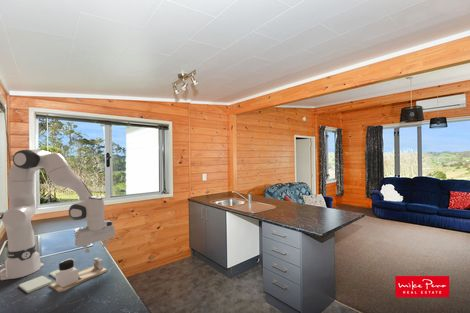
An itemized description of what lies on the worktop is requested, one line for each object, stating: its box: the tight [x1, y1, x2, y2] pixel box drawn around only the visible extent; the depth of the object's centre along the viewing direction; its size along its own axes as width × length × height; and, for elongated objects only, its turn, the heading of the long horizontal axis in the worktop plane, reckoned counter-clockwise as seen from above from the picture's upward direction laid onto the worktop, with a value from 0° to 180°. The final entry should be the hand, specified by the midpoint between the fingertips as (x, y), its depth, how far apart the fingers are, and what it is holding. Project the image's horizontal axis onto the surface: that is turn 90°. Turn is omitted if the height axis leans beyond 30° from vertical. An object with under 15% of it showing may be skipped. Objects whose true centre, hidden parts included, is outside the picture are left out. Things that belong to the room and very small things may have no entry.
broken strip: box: [18, 257, 80, 294], centre depth 124 cm, size 12×22×6 cm, turn 148°
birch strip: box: [48, 257, 108, 293], centre depth 123 cm, size 12×22×6 cm, turn 148°
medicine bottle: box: [55, 258, 79, 288], centre depth 118 cm, size 7×7×12 cm
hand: (96, 249), depth 131 cm, fingers open, 8 cm apart
